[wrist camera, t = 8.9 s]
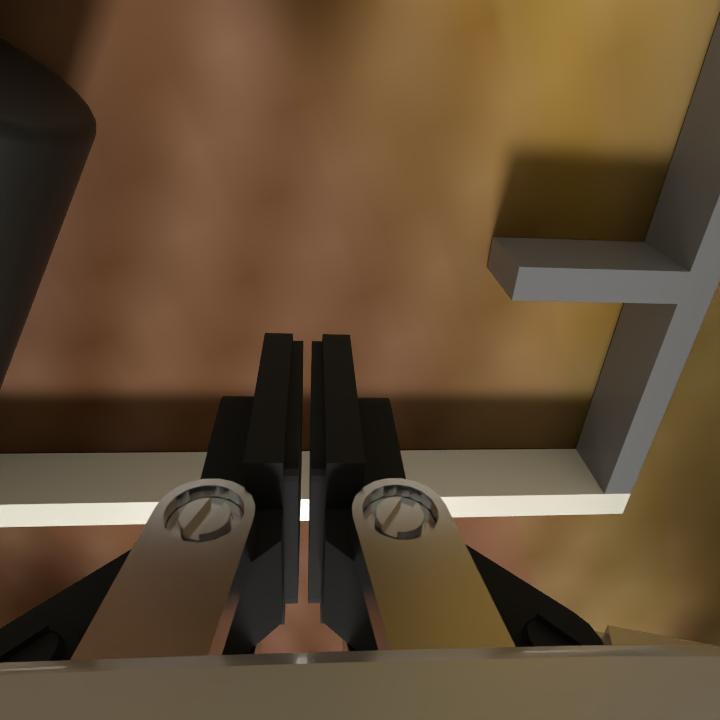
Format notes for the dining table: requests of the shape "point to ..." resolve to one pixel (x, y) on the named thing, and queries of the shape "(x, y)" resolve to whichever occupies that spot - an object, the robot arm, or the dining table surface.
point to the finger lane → (522, 283)
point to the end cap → (34, 179)
